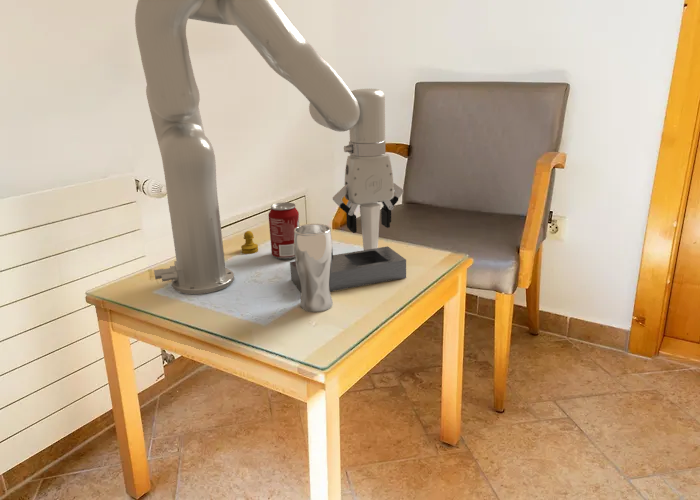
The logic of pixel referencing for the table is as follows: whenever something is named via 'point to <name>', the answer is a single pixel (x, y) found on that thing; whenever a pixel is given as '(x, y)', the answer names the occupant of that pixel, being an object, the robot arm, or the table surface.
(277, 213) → the soda can
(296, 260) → the beer glass
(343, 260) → the grey block with hole
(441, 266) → the table surface
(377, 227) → the perfume bottle
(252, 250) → the chess piece
